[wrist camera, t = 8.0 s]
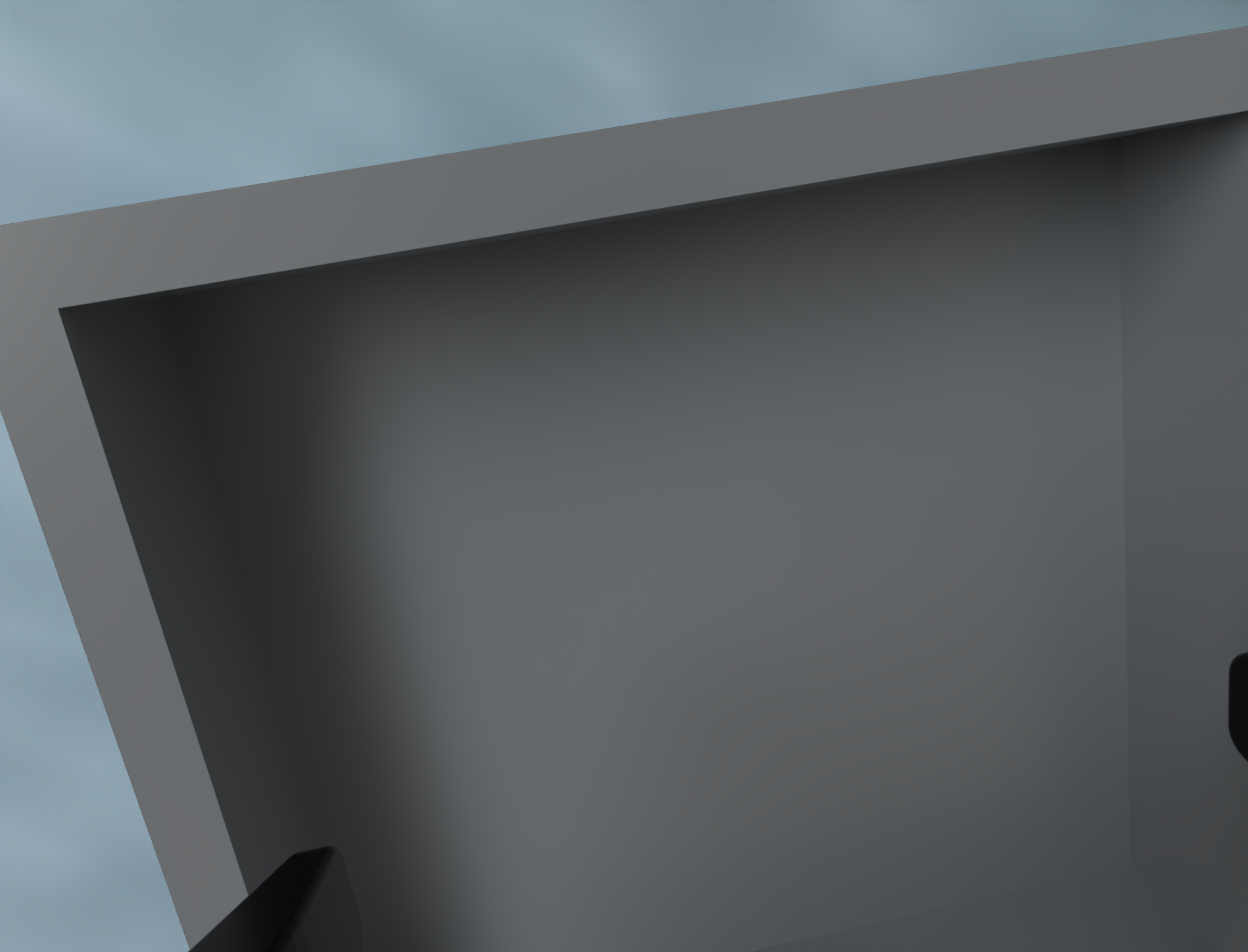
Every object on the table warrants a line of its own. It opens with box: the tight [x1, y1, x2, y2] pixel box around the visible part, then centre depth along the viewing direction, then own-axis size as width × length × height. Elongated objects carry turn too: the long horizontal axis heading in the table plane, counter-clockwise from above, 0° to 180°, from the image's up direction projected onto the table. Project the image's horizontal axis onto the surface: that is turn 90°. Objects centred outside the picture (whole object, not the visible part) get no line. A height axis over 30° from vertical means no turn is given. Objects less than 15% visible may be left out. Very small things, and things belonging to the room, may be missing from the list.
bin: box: [0, 26, 1248, 952], centre depth 11 cm, size 13×14×3 cm
